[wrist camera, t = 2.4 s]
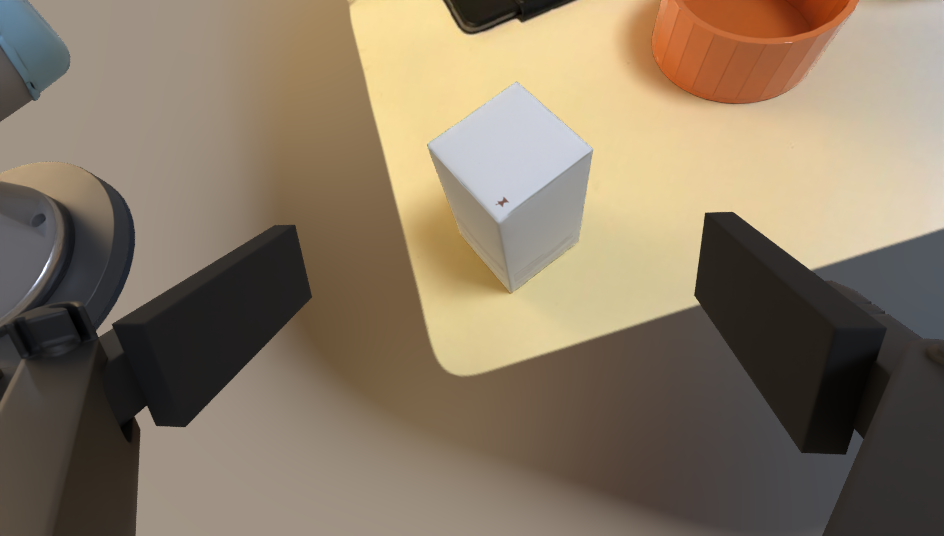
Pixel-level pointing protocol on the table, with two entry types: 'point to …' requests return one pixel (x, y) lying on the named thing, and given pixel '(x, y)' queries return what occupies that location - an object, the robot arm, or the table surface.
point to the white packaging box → (514, 183)
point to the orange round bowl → (744, 44)
